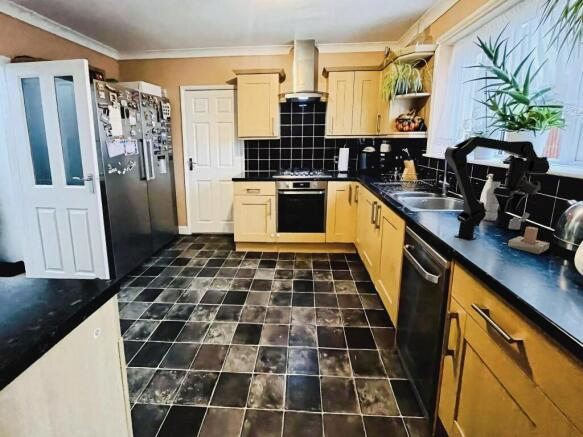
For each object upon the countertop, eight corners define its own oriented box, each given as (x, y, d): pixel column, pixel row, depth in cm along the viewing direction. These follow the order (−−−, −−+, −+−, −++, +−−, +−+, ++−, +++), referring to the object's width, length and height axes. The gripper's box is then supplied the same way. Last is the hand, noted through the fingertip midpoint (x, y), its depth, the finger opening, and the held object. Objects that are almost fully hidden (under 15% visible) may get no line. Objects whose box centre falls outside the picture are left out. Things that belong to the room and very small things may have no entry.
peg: (530, 249, 122) (535, 229, 120) (521, 247, 124) (525, 227, 122) (533, 248, 123) (538, 228, 121) (525, 246, 126) (529, 226, 124)
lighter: (509, 228, 150) (513, 212, 148) (508, 227, 152) (511, 211, 150) (526, 230, 149) (530, 213, 147) (524, 229, 151) (528, 212, 149)
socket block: (538, 254, 117) (539, 247, 116) (507, 246, 125) (509, 240, 124) (548, 249, 123) (549, 243, 122) (518, 242, 130) (519, 236, 130)
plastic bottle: (481, 218, 170) (488, 180, 165) (496, 220, 166) (504, 182, 161) (480, 220, 164) (487, 181, 160) (495, 222, 161) (503, 183, 156)
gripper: (528, 176, 116) (519, 217, 120) (550, 174, 126) (541, 213, 130) (496, 173, 125) (488, 211, 129) (518, 171, 135) (511, 207, 139)
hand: (508, 211), depth 131 cm, fingers open, 9 cm apart
